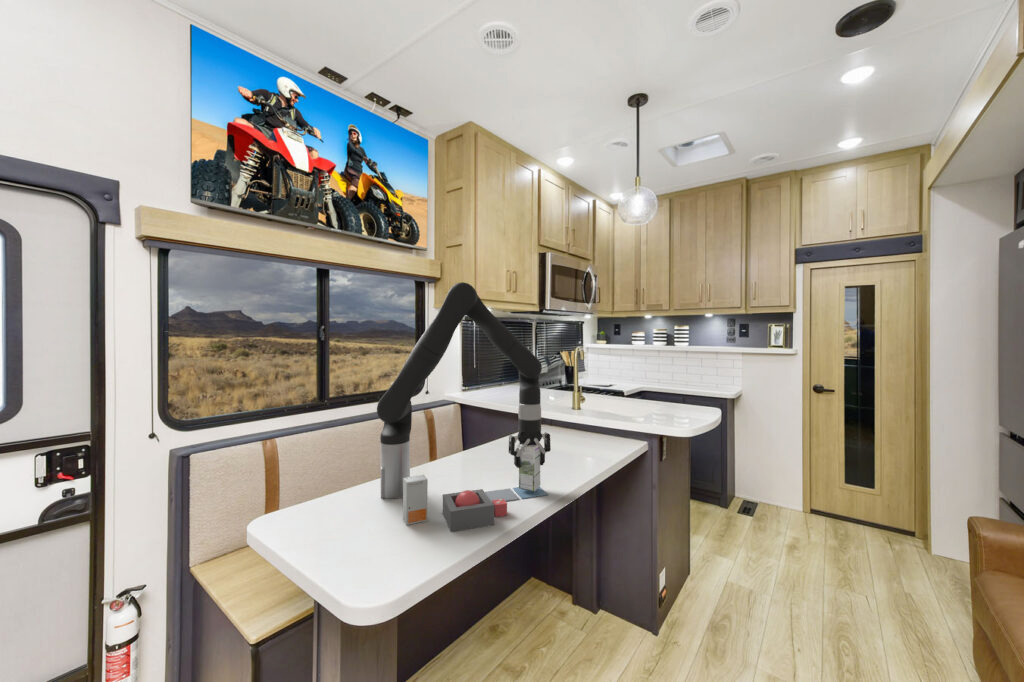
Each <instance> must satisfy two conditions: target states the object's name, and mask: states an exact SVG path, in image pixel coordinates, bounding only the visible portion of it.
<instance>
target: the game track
mask: <svg viewBox="0 0 1024 682" xmlns="http://www.w3.org/2000/svg"><path fill="white" fill-rule="evenodd" d="M513 489H514V490H513ZM484 492H485V493H486V495H487V496H488V498H489V499H490V500H491V502H492V500H498V499H504V500H505V501H506V502H512V501H511V500H513V501H518V499H519V500H520V499H522V500H524V498H526V499H531V498H530V497H533V498H537V497H536V496H540V497H544V496H543V495H546V496H549V493H547V492H546V491H545V490H544V489H543V488H542V487H541V486H540V487H539V488H538V489H537V490H536V491H529V490H524V489H519V486H518V487H517V486H516V487H512V489H511V488H509V487H508V488H502V489H496V490H488V491H484ZM517 495H518V496H519V497H518V496H517Z"/></svg>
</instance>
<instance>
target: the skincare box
mask: <svg viewBox="0 0 1024 682" xmlns="http://www.w3.org/2000/svg"><path fill="white" fill-rule="evenodd" d="M402 520H403V521H404V523H405V525H406V526H409V525H413V524H419V523H425V522H428V478H427V477H426V476H425V474H420V475H412V476H410V477H407V478H403V497H402Z"/></svg>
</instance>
